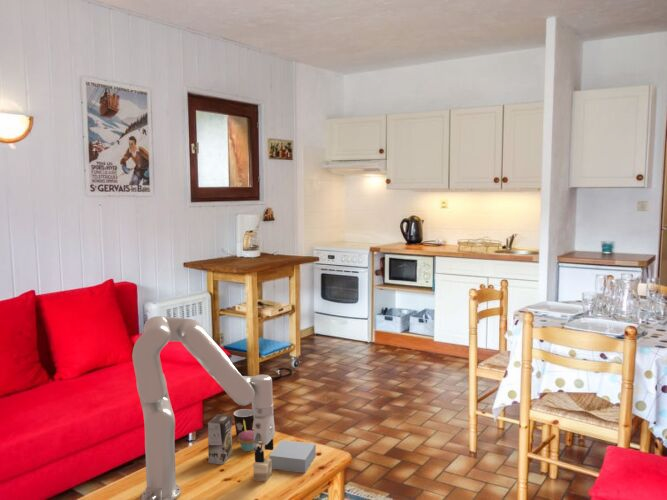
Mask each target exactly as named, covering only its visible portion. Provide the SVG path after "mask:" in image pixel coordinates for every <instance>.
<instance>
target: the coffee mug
mask: <svg viewBox="0 0 667 500" xmlns="http://www.w3.org/2000/svg"><path fill="white" fill-rule="evenodd" d="M243 419H244V420H243ZM233 420H234V427H235V434H236V437H237V436H238V435H239V434H240V433H241V432H243V431H245V430H244V423H243V421H245V425H246V431H247V430H252V431H253V424H254V416H253V415H252V409H249V408H244V409H237V410H235V411H234V412H233Z"/></svg>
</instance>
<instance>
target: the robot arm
mask: <svg viewBox="0 0 667 500" xmlns="http://www.w3.org/2000/svg"><path fill="white" fill-rule="evenodd" d="M142 328H143V333H142V334H141V335H140V336H139V337H138V339H136V341H135V343H134V346H133V347H132V348H133V349H132V364H133V368H134V373H135V379H136V389H137V393H138V396H139V401H140V405H141V409H142V413H143V420H144V421H143V423H144V449H145V472H146V473H145V478H146V488H145V489H144V490H143V491H142V493H141V498H140V500H176V499H177V498H179V496H180V495H181V486H179V485H178V484H177V482H176V481H177V478H176V477H177V476H176V448H175V447H176V446H175V445H176V443H175V438H176V437H175V435H176V434H175V433H176V432H175V430H176V418H175V414H174V411H173V408H172V403H171V400H170V396H169V391H168V387H167V386H168V385H167V384H168V383H167V380H166V376H165V373H164V372H163V367H162V361H161V357H160V354H161V352H162V350H163V348H164V347H165V346H167V345H168V343H169V342H180V343H181V344H182V346H184V348H185V349H186V350H187V351H188V352H189V353H190V354H191V355H192V356H193V357H194V359H195V360H196V361H197V362H198V363H199V364H200V365H201V366H202V368H203V369H204V370H205V371H206V372H207V373H208V375H209V376H210V377H212V378H213V380H215V382H216V383H217V384H218V385H219V386H220V387H221V388H222V389H223V390H224V391H225V393H226V394H227V395H228V396H229V398H231V399H232V401H233V402H235V403H236V404H237V405H239V406H241V407H243V406H244V407H245V406H247V405H250V404H251V410H252V415H253V416H254V421H253V437H254V443H253V446H254V449H253V451H254V452H253V453H254V463H255V462H262V463H263V462H264V459H265V452H264V451H263V450H265V451H266V450H267V451H273V450H274V437H275V435H276V427H275V417H274V398H273V397H274V395H273V379H272V377H271V376H270V375H268V374H262V373H261V374H257V375H251V376H249V375H242V373H240V372H239V371H238V369H237V368H236V367H235V366H234V364H233V363H232V361H231V359H230V358H229V357H228V355H227V354H226V353H225V351H224V350H223V349H222V348H221V347H220V346H219V345H218V343H217V342H216V341H215V340H214V339H213V338H212V336H210V335H209V334H208V333H207V331H206V330H205V328H203V327H202V325H201V323H200V322H199V321H198V320H195V319H191V318H184V317H170V316H169V317H168V316H157V315H156V316H152V317H150V318H149V319H147V320H146V321H145V322H144V325H143V327H142Z"/></svg>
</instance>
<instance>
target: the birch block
mask: <svg viewBox="0 0 667 500" xmlns="http://www.w3.org/2000/svg"><path fill="white" fill-rule="evenodd" d="M272 470H273V469H272V459H269V458H264V462H263V463H262V462H255V461H254V462H253V481H257V482H259V481H260V482H268V481H269V479H270V478H271V476H272V473H273V471H272Z"/></svg>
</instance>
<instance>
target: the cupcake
mask: <svg viewBox="0 0 667 500" xmlns="http://www.w3.org/2000/svg"><path fill="white" fill-rule="evenodd" d="M243 420H244V419H243ZM243 423H244V430H245V431H243V432H241V433H240V434H239V435H238V436H237V435H236V439H237V442H238V443H239V445H240V447H241V449H242V451H245V452H249V451H254V446H253V443H254V437H253V431H252V430H247V431H246V425H245V421H243Z"/></svg>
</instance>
